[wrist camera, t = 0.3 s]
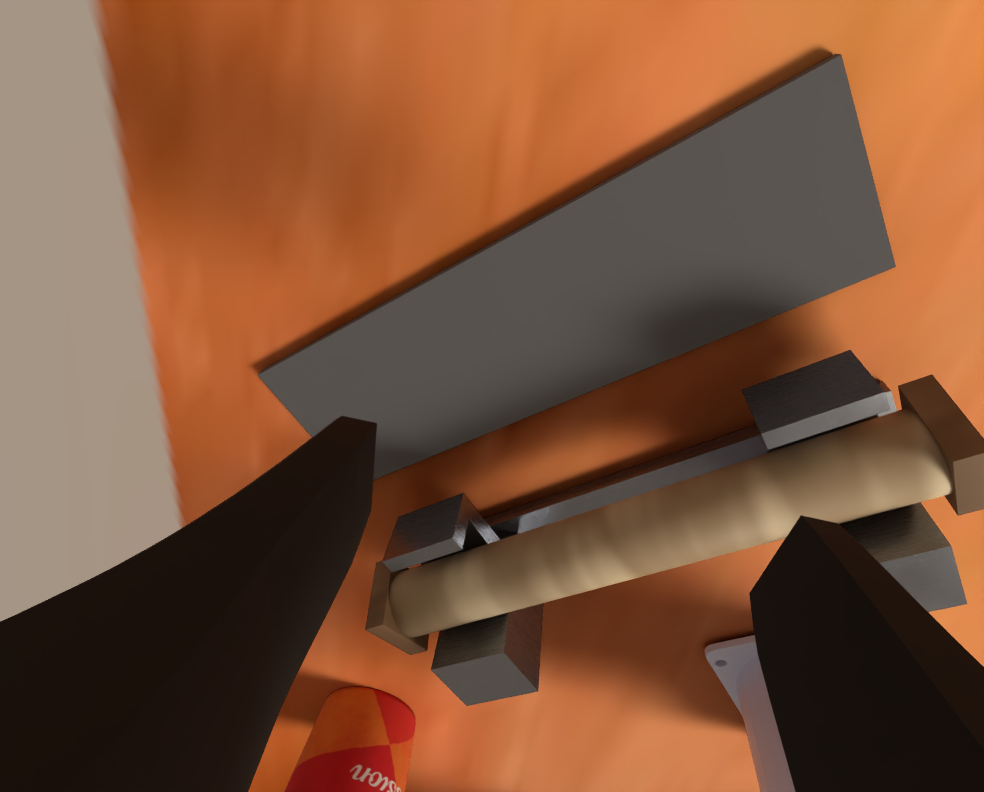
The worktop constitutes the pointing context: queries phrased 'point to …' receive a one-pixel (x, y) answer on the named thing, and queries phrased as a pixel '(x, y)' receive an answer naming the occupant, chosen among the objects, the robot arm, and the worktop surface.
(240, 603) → the robot arm
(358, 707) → the paper cup
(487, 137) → the worktop surface
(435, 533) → the hook standards
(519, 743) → the worktop surface
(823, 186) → the mat
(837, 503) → the tan wooden rod
